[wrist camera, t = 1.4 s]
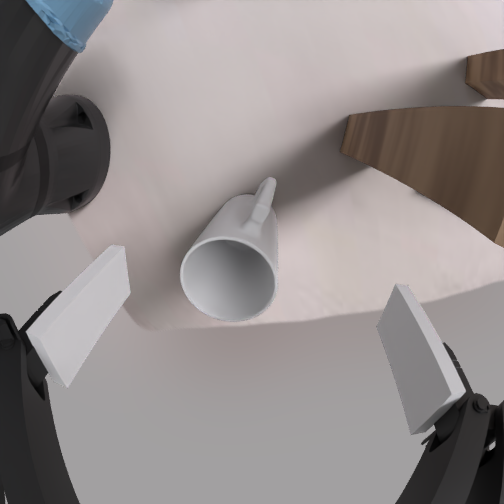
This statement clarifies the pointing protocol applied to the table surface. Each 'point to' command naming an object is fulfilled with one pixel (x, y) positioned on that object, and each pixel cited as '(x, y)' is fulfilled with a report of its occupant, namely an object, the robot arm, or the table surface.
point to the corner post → (439, 157)
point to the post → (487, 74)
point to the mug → (235, 259)
